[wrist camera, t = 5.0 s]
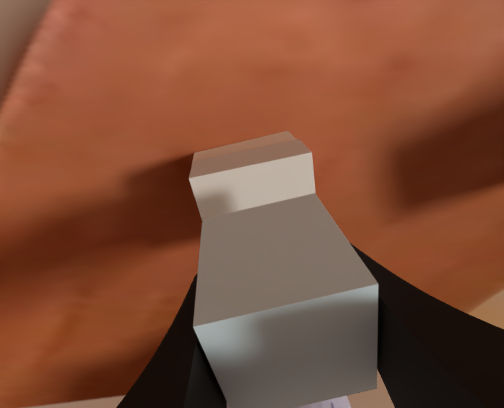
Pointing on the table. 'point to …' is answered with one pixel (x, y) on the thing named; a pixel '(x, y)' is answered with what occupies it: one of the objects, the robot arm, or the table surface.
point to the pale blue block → (285, 306)
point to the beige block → (252, 178)
